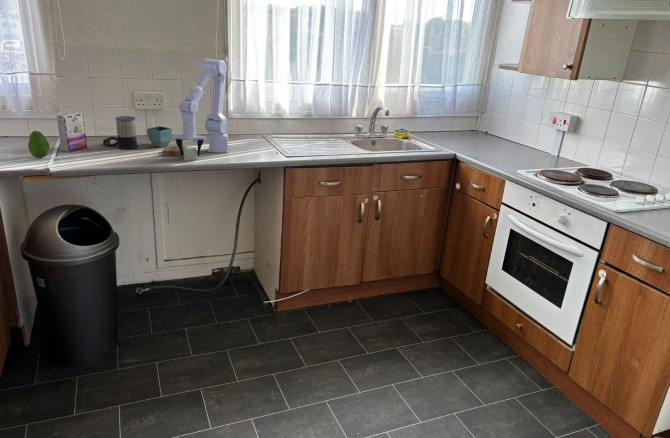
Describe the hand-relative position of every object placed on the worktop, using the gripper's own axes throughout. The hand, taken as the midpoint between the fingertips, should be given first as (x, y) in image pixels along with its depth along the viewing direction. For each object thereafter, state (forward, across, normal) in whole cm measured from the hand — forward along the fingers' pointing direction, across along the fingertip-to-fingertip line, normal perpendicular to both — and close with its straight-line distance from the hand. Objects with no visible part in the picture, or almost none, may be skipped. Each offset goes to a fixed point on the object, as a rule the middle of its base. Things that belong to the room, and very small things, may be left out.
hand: (190, 155), depth 237 cm
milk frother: (+2, -35, +18) cm, 40 cm away
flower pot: (+2, -17, +22) cm, 28 cm away
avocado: (+2, -63, -6) cm, 63 cm away
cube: (+2, 0, 0) cm, 2 cm away
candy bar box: (+2, -54, +10) cm, 55 cm away
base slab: (+1, -8, +8) cm, 11 cm away
